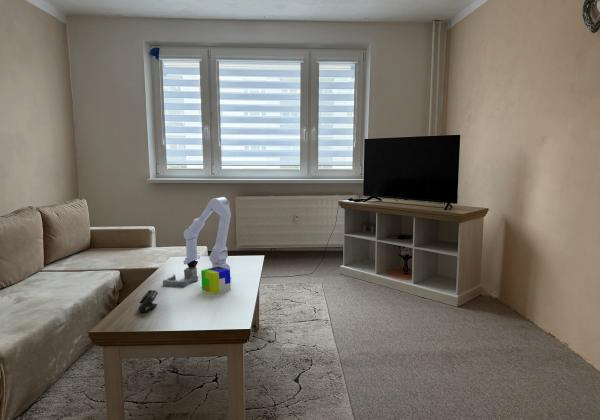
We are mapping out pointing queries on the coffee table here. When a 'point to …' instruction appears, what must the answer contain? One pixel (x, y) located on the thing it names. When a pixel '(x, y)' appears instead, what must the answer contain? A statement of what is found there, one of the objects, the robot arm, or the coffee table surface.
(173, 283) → the chassis bay
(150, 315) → the coffee table surface
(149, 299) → the black angular device
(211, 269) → the puzzle toy
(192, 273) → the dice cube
